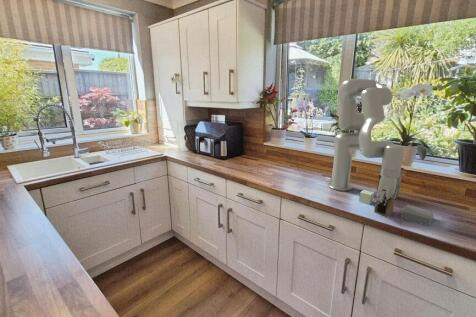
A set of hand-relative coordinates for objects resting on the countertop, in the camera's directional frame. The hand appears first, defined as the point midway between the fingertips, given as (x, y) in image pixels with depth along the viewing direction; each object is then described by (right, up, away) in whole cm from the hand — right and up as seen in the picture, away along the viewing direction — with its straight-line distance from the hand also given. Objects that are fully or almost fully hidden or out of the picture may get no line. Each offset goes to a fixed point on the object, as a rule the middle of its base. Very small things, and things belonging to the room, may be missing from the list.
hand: (383, 209), depth 115 cm
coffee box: (+13, +3, +20) cm, 25 cm away
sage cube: (-2, +2, +12) cm, 12 cm away
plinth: (+12, -3, -4) cm, 13 cm away
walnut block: (0, -1, 0) cm, 1 cm away
